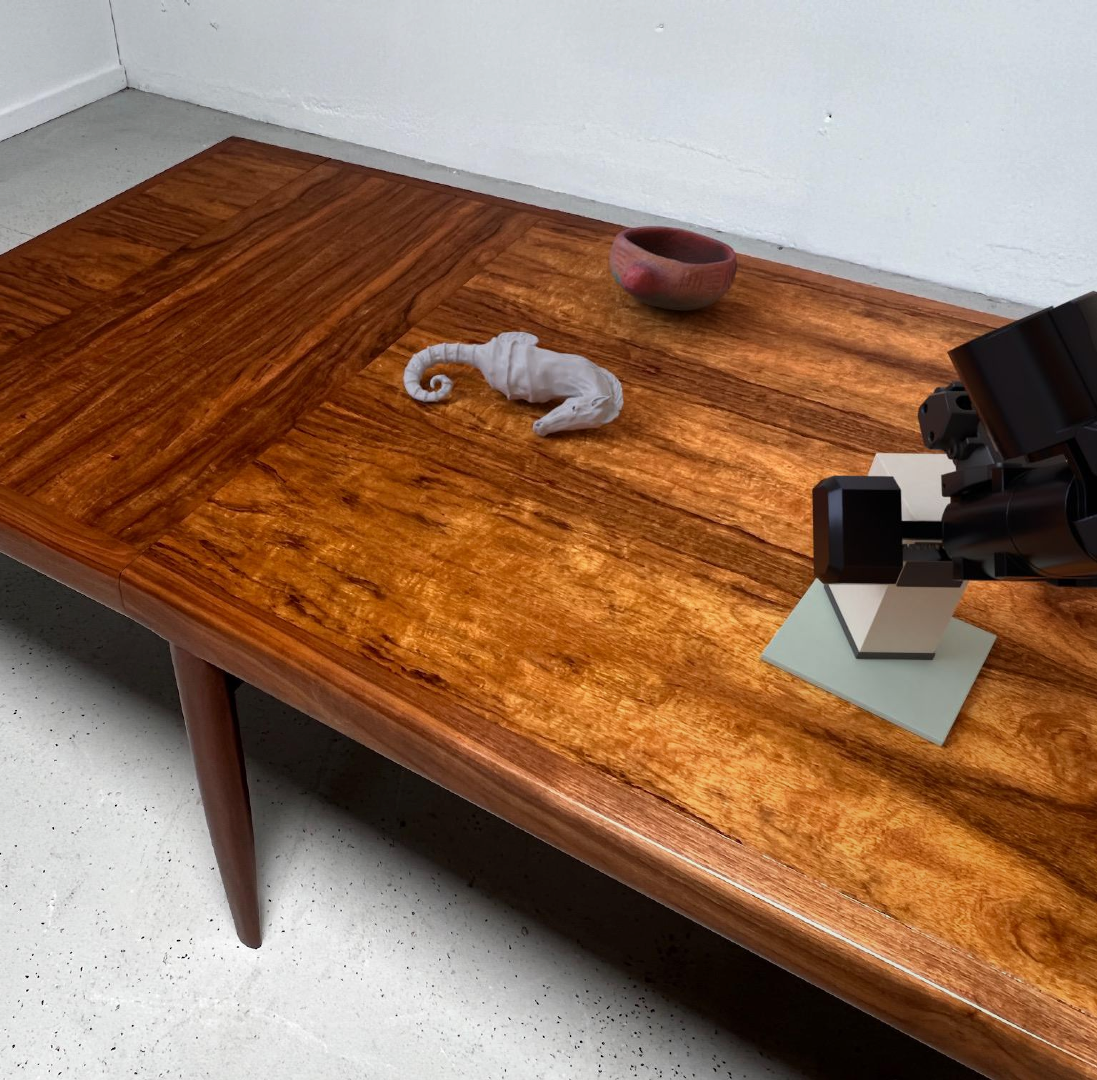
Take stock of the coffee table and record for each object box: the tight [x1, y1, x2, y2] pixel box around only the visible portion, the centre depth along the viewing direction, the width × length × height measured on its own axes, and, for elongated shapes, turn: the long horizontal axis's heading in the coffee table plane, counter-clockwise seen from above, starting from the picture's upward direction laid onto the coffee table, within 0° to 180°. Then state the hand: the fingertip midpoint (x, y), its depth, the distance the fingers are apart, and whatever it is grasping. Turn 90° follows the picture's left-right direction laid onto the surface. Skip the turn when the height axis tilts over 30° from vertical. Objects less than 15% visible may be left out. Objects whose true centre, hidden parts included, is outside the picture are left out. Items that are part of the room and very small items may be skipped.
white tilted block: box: [824, 452, 970, 660], centre depth 70 cm, size 5×7×12 cm
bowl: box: [609, 225, 738, 311], centre depth 107 cm, size 16×13×8 cm
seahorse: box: [402, 331, 624, 437], centre depth 95 cm, size 5×12×20 cm
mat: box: [759, 577, 998, 747], centre depth 73 cm, size 12×12×1 cm
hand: (909, 543), depth 69 cm, fingers open, 9 cm apart
